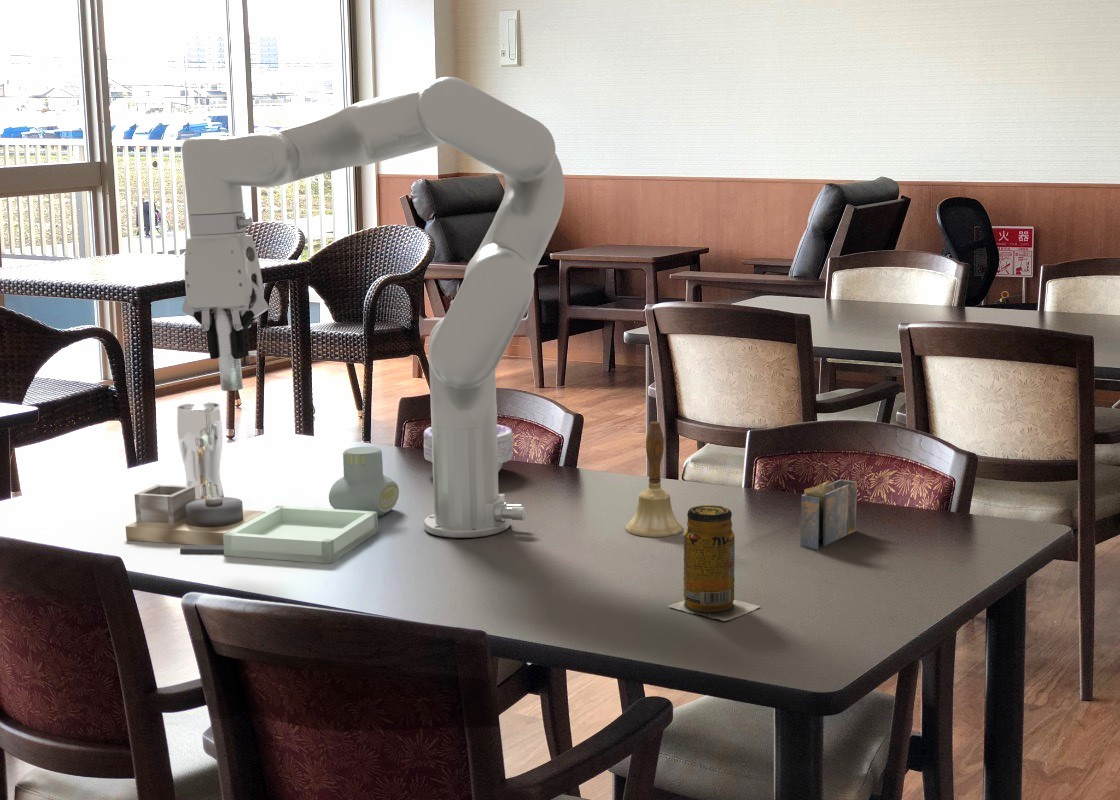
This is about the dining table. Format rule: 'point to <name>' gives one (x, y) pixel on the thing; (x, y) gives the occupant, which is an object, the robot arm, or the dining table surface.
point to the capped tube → (227, 351)
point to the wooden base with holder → (185, 516)
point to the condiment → (710, 565)
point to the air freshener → (364, 483)
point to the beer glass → (201, 447)
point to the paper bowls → (502, 444)
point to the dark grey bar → (203, 549)
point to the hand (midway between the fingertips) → (229, 356)
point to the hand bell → (654, 495)
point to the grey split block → (828, 512)
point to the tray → (301, 534)
